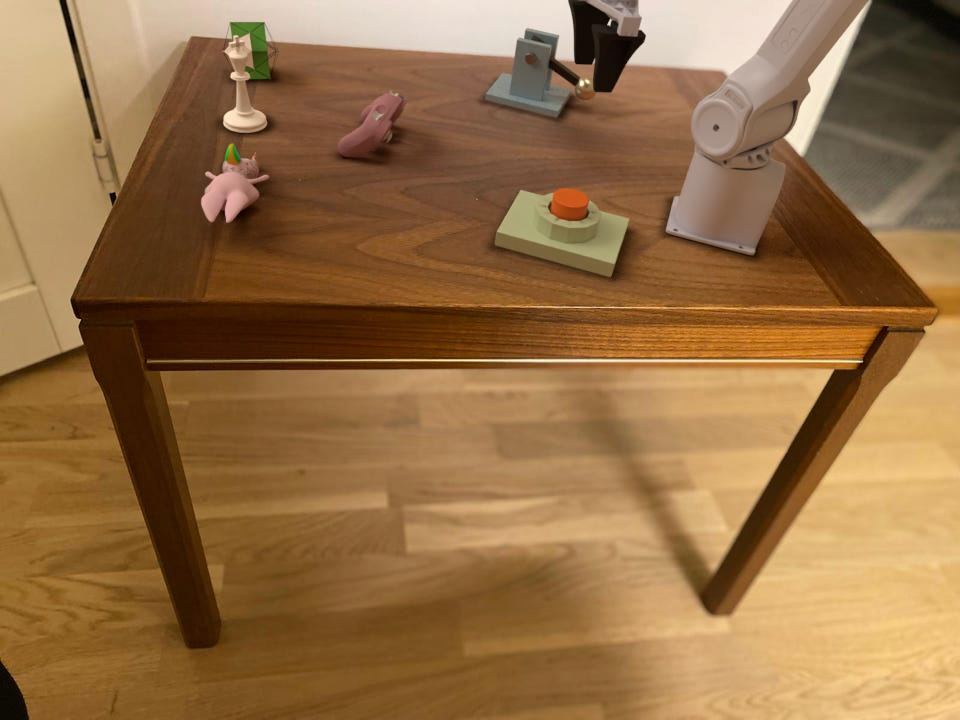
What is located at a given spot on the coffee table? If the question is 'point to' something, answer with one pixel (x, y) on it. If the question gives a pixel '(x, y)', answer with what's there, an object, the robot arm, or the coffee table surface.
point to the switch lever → (571, 77)
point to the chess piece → (242, 96)
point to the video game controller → (373, 126)
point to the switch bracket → (531, 77)
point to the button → (569, 204)
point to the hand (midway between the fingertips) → (592, 76)
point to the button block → (562, 234)
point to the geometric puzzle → (253, 48)
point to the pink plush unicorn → (232, 186)
